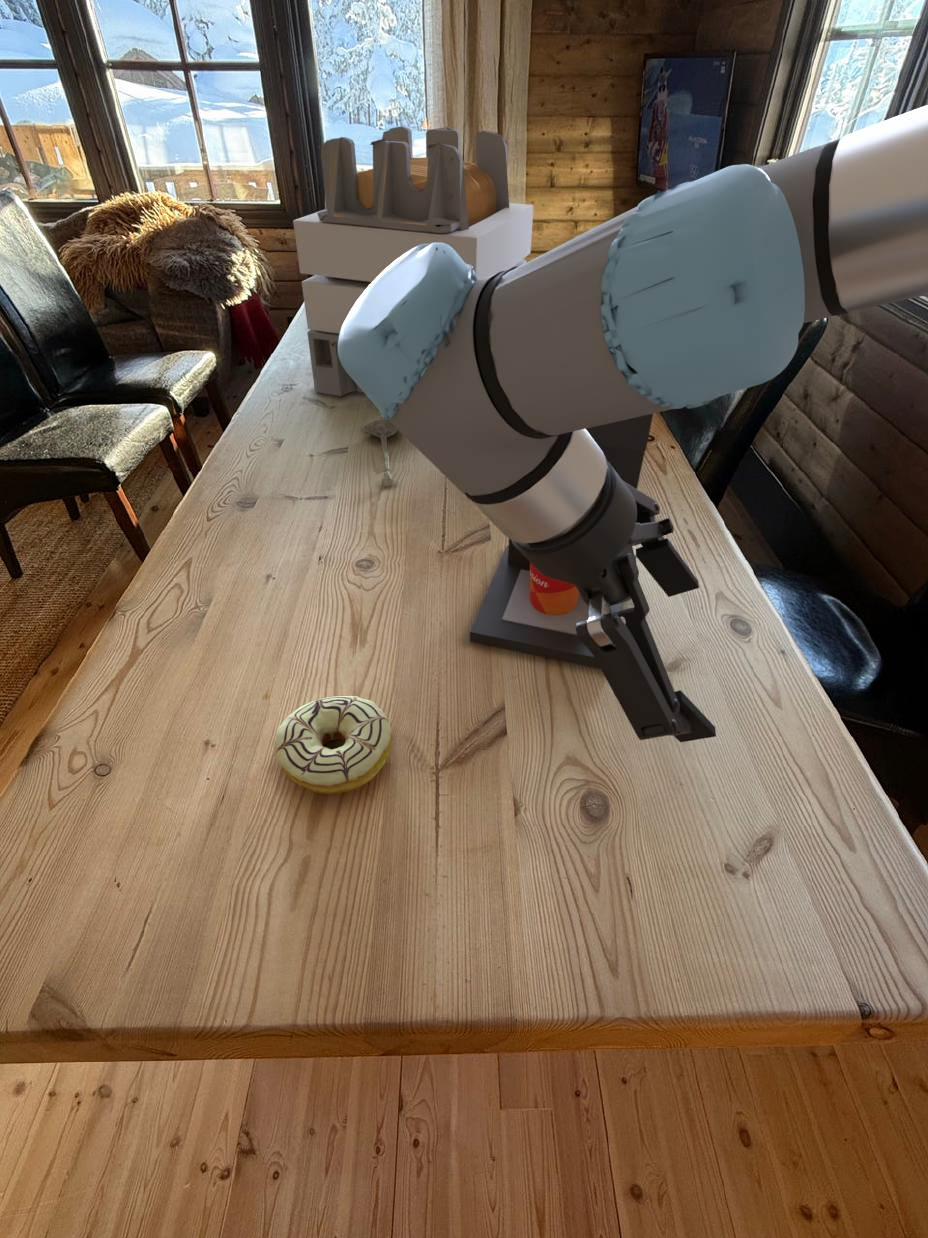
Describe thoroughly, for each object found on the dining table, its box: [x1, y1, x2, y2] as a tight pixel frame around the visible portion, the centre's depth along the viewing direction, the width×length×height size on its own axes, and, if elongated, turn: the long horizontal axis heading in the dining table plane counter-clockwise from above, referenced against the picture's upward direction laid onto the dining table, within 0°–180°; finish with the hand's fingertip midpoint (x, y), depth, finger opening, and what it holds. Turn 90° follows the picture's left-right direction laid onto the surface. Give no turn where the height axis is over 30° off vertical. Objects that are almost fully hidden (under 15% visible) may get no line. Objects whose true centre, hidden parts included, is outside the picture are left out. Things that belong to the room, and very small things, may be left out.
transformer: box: [292, 125, 534, 397], centre depth 122 cm, size 34×33×41 cm
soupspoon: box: [362, 419, 399, 487], centre depth 109 cm, size 22×3×7 cm
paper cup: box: [530, 562, 579, 615], centre depth 74 cm, size 8×8×14 cm
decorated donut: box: [273, 695, 393, 795], centre depth 62 cm, size 10×11×4 cm
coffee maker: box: [469, 413, 654, 670], centre depth 71 cm, size 18×16×29 cm
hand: (690, 657), depth 53 cm, fingers open, 13 cm apart
